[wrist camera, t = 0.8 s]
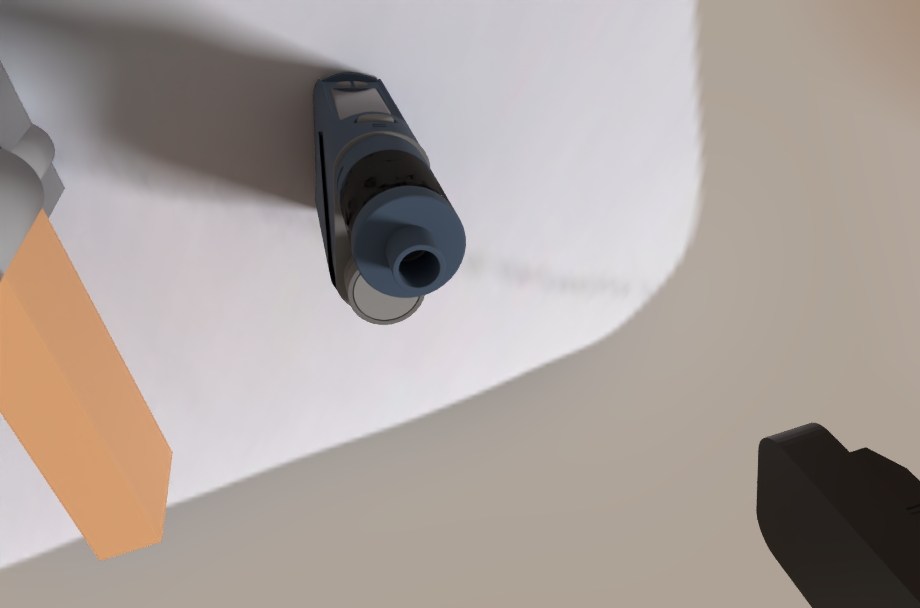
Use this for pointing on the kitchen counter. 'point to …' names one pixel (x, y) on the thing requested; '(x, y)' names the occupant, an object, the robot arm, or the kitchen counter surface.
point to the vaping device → (379, 202)
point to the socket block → (28, 142)
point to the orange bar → (72, 383)
